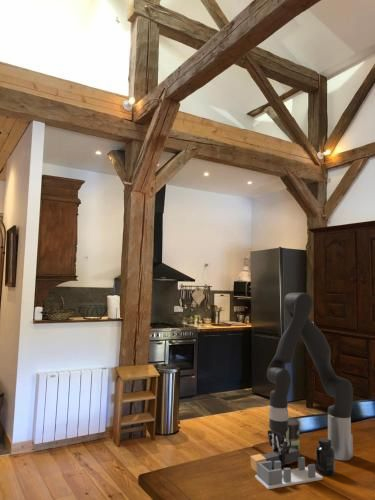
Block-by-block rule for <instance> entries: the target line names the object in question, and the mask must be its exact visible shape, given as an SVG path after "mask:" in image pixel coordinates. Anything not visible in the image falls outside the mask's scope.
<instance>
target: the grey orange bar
mask: <svg viewBox="0 0 375 500" xmlns="http://www.w3.org/2000/svg"><path fill="white" fill-rule="evenodd" d="M299 450H300V449H299ZM299 450H297V449H296V448H294V447H291V448H290V450H289V454H285V463H284V464H281V466H285V465H287V464H291V463H295V462H298V457H299ZM281 451H282V450H281ZM249 457H250V468H251V469H252V470H253V471H255V472H256V473H257V463H259V462H266V461H271V462H272V469H274V461H279V451H276V452H273V451H272V452H269V453H268V452H267V453H263V454H261V453H258V454H253V455H250V456H249Z"/></svg>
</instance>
